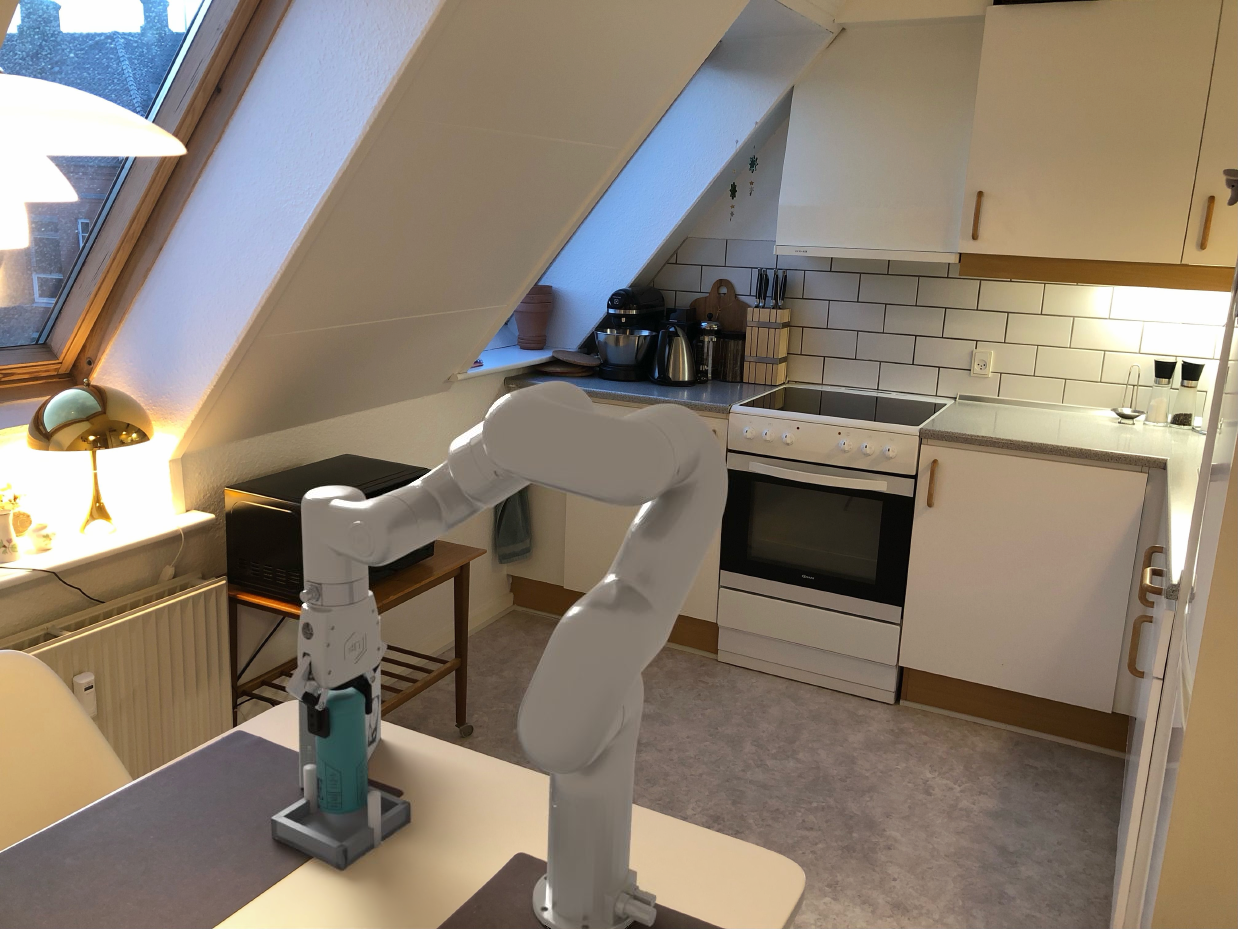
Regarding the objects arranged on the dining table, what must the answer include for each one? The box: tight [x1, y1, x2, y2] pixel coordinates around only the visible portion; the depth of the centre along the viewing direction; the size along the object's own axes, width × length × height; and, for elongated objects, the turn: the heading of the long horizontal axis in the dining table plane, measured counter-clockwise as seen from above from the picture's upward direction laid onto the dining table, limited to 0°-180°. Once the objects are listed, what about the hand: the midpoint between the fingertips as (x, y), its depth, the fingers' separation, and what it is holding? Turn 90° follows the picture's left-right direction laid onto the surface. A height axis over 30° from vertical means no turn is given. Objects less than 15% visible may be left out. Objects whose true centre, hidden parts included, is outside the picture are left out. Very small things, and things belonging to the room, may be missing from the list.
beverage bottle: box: [314, 678, 370, 814], centre depth 124 cm, size 6×7×20 cm
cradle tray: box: [270, 764, 412, 871], centre depth 126 cm, size 13×12×7 cm
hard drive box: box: [297, 615, 382, 789], centre depth 141 cm, size 16×8×20 cm, turn 179°
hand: (340, 721), depth 124 cm, fingers closed on beverage bottle, 6 cm apart
